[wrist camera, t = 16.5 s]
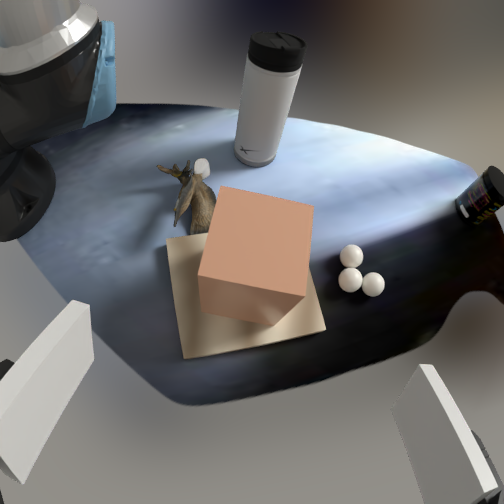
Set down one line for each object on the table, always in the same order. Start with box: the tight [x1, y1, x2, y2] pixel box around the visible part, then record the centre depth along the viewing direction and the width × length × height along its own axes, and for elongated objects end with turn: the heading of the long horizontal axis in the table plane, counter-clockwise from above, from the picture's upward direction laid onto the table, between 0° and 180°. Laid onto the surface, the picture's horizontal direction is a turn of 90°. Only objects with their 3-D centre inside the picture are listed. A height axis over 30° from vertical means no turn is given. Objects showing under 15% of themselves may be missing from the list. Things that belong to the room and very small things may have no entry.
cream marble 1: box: [340, 245, 363, 268], centre depth 38 cm, size 3×3×3 cm
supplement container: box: [456, 166, 504, 227], centre depth 43 cm, size 7×7×10 cm
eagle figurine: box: [157, 158, 217, 235], centre depth 37 cm, size 8×7×9 cm
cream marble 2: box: [339, 268, 362, 292], centre depth 37 cm, size 3×3×3 cm
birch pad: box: [166, 233, 326, 359], centre depth 36 cm, size 16×14×2 cm
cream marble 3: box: [361, 273, 384, 296], centre depth 37 cm, size 3×3×3 cm
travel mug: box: [234, 32, 308, 167], centre depth 36 cm, size 6×7×20 cm
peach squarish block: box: [198, 186, 314, 326], centre depth 30 cm, size 8×8×12 cm
